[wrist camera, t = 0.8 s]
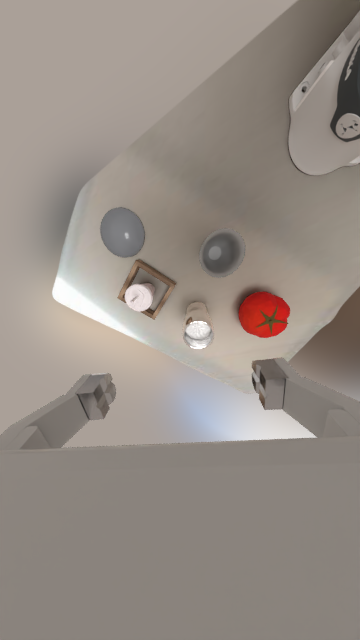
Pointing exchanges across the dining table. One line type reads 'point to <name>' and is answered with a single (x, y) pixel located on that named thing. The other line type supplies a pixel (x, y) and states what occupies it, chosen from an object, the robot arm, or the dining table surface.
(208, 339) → the beer glass
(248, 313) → the tomato
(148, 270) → the wooden serving tray
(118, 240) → the disc
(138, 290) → the smoothie
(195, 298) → the dining table surface
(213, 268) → the chalice
